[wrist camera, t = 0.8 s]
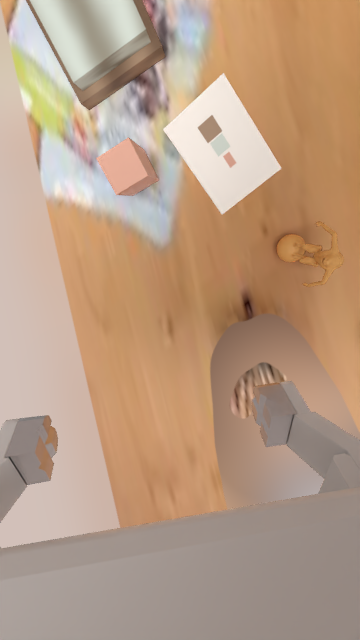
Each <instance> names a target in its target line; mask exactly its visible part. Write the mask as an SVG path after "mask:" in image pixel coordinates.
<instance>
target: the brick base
mask: <svg viewBox="0 0 360 640" xmlns="http://www.w3.org/2000/svg"><path fill="white" fill-rule="evenodd" d="M26 1H27V3H28V5H29V7H30V9H31V11H32V13H33V14H34V16H35V18H36V20H37V22H38V24H39V26H40V28H41V29H42V31H43V33H44V35H45V37H46V39H47V41H48V43H49V44H50V46H51V48H52V50H53V52H54V54H55V56H56V58H57V59H58V61H59V63H60V65H61V67H62V69H63V71H64V73H65V74H66V76H67V78H68V80H69V82H70V84H71V86H72V88H73V89H74V91H75V93H76V95H77V97H78V99H79V101H80V103H81V104H82V105H84V106H85V107H86V108H87V109H89V110H90V109H92V108H93V107H95V106H96V105H97V104H99V103H100V102H102V101H103V100H105V99H106V98H107V97H109V96H110V95H112V94H113V93H115V92H116V91H117V90H119V89H120V88H122V87H123V86H124V85H126V84H127V83H129V82H130V81H132V80H133V79H134V78H136V77H137V76H139V75H140V74H142V73H143V72H144V71H146V70H147V69H149V68H150V67H152V66H153V65H154V64H156V63H157V62H159V61H160V60H162V59H163V58H164V57H165V54H164V51H163V47H162V45H161V43H160V40H159V38H158V36H157V33H156V31H155V29H154V27H153V24H152V22H151V20H150V18H149V15H148V13H147V11H146V8H145V6H144V4H143V2H142V0H26Z"/></svg>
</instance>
